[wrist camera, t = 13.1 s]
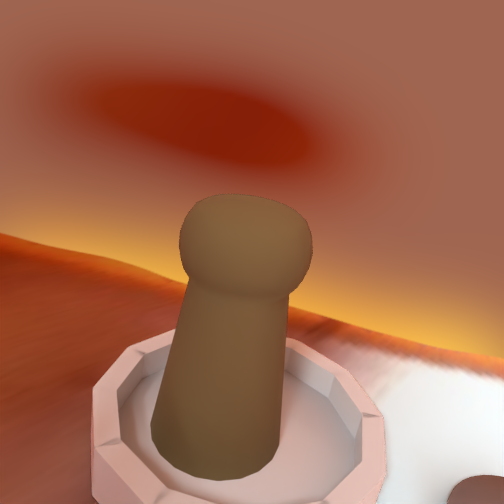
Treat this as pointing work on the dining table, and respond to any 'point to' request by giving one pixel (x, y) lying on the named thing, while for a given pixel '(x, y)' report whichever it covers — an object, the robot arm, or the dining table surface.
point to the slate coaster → (479, 491)
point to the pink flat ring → (269, 477)
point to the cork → (230, 336)
